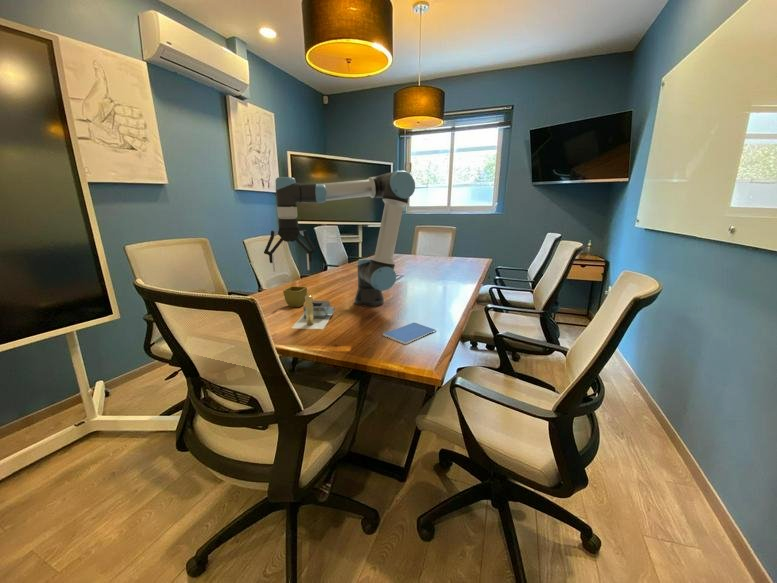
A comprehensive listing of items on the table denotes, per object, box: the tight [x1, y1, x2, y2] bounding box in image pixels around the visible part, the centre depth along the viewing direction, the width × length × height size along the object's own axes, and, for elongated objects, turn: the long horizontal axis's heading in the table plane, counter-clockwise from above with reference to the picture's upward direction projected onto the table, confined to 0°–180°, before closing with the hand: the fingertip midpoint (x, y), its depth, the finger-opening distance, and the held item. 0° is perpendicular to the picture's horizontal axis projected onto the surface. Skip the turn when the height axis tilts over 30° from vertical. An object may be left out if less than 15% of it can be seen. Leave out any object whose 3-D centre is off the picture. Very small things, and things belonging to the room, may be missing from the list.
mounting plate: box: [291, 313, 333, 330], centre depth 139 cm, size 13×22×2 cm, turn 178°
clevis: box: [303, 300, 336, 319], centre depth 143 cm, size 12×10×5 cm
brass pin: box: [304, 294, 314, 326], centre depth 131 cm, size 3×3×12 cm
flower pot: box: [282, 285, 308, 308], centre depth 160 cm, size 9×9×9 cm
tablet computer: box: [382, 322, 437, 345], centre depth 128 cm, size 19×13×1 cm, turn 135°
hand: (291, 270), depth 134 cm, fingers open, 13 cm apart
